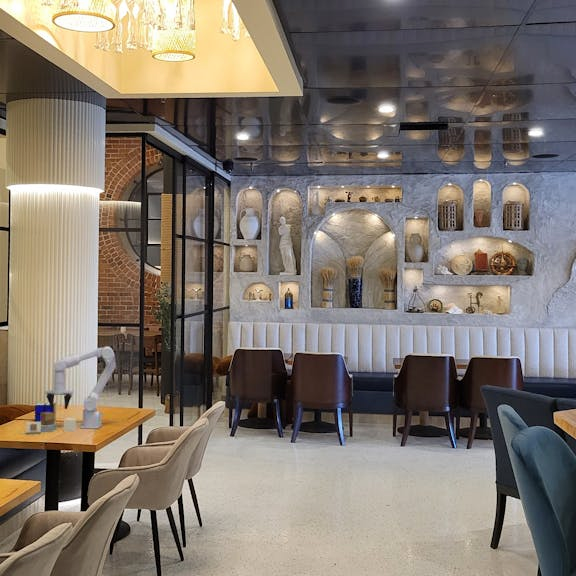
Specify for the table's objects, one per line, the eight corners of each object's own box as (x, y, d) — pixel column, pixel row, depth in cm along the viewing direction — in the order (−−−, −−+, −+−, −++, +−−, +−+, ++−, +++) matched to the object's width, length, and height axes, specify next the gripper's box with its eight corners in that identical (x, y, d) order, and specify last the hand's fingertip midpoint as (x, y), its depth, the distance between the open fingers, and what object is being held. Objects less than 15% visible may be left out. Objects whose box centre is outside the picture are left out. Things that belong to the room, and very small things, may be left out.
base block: (56, 429, 390) (56, 423, 390) (51, 432, 381) (51, 426, 381) (40, 429, 390) (40, 422, 390) (34, 432, 381) (34, 425, 381)
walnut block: (53, 424, 386) (54, 412, 387) (46, 425, 383) (46, 413, 383) (48, 423, 389) (48, 411, 389) (40, 424, 385) (40, 412, 385)
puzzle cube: (34, 423, 406) (34, 405, 406) (37, 420, 416) (37, 402, 416) (53, 423, 408) (53, 404, 408) (55, 419, 418) (55, 402, 418)
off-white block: (76, 429, 389) (76, 418, 389) (72, 431, 384) (73, 419, 384) (67, 429, 389) (67, 418, 389) (63, 431, 385) (64, 419, 385)
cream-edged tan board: (40, 432, 380) (40, 421, 380) (40, 433, 376) (40, 422, 376) (26, 433, 377) (26, 421, 378) (25, 434, 374) (26, 422, 374)
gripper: (75, 382, 396) (75, 407, 396) (49, 381, 397) (48, 407, 397) (70, 383, 389) (70, 409, 389) (43, 383, 390) (43, 409, 390)
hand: (59, 408), depth 392 cm, fingers open, 7 cm apart
